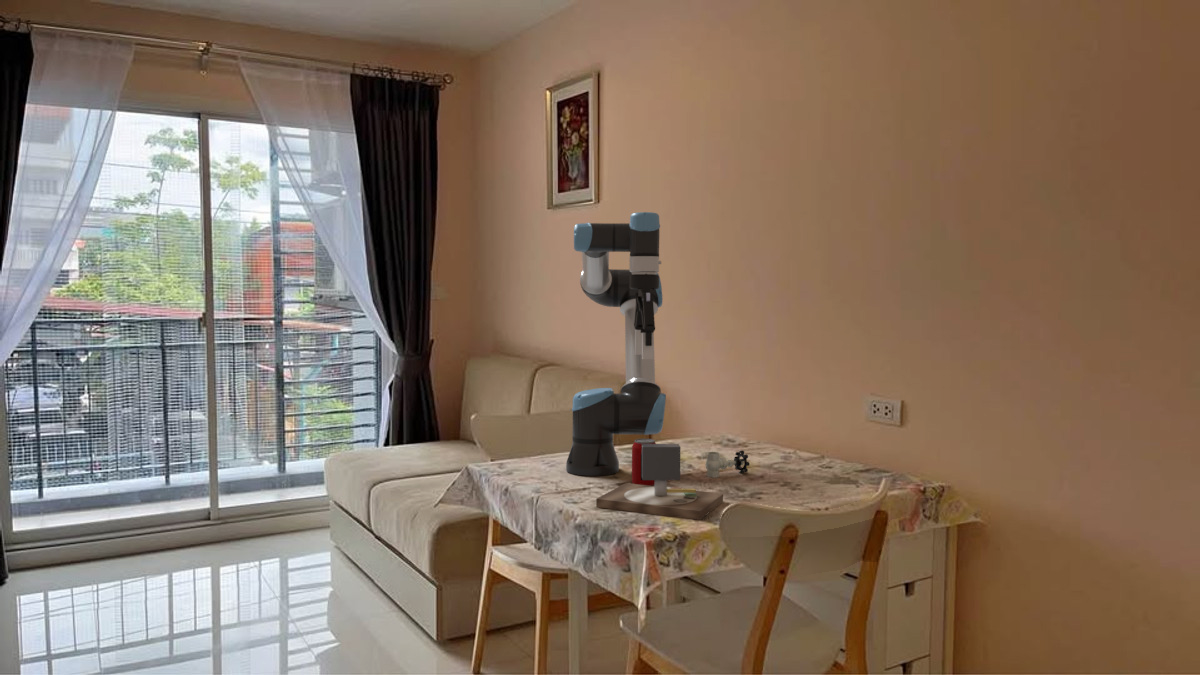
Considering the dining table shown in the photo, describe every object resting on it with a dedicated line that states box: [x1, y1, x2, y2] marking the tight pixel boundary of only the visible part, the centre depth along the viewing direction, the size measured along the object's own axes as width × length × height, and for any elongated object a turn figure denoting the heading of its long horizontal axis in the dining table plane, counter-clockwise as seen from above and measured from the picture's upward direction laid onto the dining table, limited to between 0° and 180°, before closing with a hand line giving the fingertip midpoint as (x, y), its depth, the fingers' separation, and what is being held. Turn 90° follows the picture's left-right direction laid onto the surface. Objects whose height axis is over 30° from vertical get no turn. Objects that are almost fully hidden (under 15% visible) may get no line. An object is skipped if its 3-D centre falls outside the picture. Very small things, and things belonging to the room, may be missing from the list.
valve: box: [705, 450, 750, 478], centre depth 240 cm, size 7×7×12 cm
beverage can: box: [631, 438, 657, 486], centre depth 227 cm, size 7×7×12 cm
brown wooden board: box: [595, 482, 724, 521], centre depth 207 cm, size 26×18×2 cm
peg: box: [642, 443, 697, 496], centre depth 207 cm, size 13×4×12 cm, turn 91°
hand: (643, 356), depth 219 cm, fingers open, 13 cm apart
